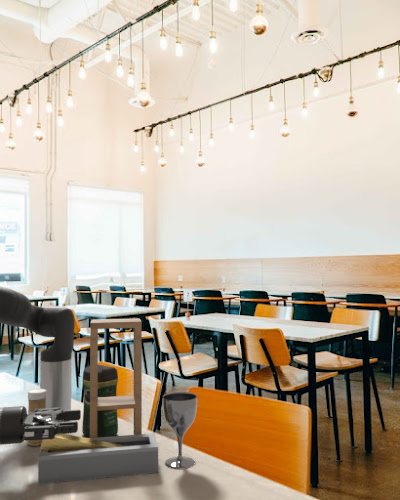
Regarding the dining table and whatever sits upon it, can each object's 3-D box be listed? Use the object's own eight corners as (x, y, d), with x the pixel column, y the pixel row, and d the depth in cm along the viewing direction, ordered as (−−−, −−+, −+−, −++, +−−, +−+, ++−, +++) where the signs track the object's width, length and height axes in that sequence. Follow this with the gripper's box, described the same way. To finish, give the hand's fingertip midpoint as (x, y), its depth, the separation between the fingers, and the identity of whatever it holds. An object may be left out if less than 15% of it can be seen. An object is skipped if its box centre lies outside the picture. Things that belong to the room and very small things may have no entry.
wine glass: (184, 472, 98) (184, 402, 99) (155, 465, 102) (155, 397, 103) (203, 460, 105) (203, 394, 106) (176, 453, 109) (175, 390, 110)
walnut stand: (91, 448, 112) (91, 319, 114) (139, 444, 114) (139, 318, 116) (89, 461, 104) (90, 322, 106) (141, 457, 107) (141, 321, 108)
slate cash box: (44, 466, 102) (44, 441, 102) (154, 456, 107) (154, 433, 107) (38, 483, 93) (38, 456, 94) (158, 472, 98) (158, 446, 98)
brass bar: (42, 443, 100) (45, 430, 100) (130, 460, 103) (133, 447, 103) (40, 449, 97) (43, 434, 97) (130, 465, 100) (134, 452, 100)
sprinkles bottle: (48, 444, 116) (48, 390, 116) (29, 447, 113) (30, 393, 114) (43, 438, 119) (44, 387, 120) (25, 442, 117) (26, 389, 118)
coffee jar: (123, 434, 122) (123, 365, 123) (99, 442, 116) (99, 370, 117) (101, 426, 128) (101, 361, 130) (77, 434, 122) (77, 365, 123)
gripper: (-7, 418, 90) (77, 412, 93) (9, 399, 104) (81, 395, 107) (-8, 456, 89) (76, 449, 93) (8, 432, 103) (81, 427, 106)
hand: (79, 420), depth 100 cm, fingers open, 8 cm apart
